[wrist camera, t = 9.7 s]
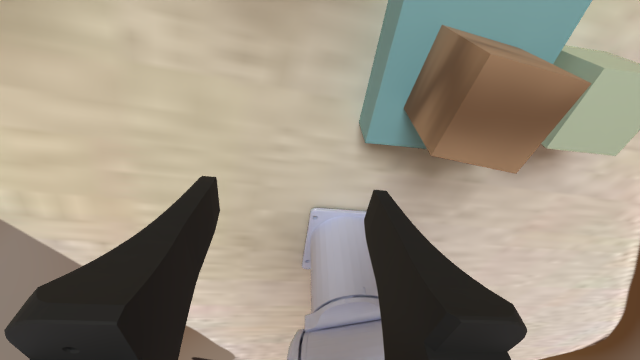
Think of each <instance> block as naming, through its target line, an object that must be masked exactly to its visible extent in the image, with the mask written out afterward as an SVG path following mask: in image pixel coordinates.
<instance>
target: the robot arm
mask: <svg viewBox="0 0 640 360" xmlns="http://www.w3.org/2000/svg"><path fill="white" fill-rule="evenodd" d="M219 212H220V207H219V198H218V189H217V179H216V177H208V176H202V177H200V178H199V179H198V180H197V181H196V182H195V183H194V184H193V185H192V186H191V187H190V188H189V189H188V190H187V191H186V192H185V193H184V194H183V195H182V196H181V197H180V198H179V199H178V200H177V201H176V202H175V203H174V204H173V205H172V206H171V207H170V208H168V209H167V210H166V211H165V212H164V213H163V214H161V215H160V216H159V217H158V218H157V219H156V220H154V221H153V222H152V223H151V224H149V225H148V226H147V227H145V228H144V229H143V230H141V231H140V232H139V233H137V234H136V235H134V236H133V237H132V238H130V239H129V240H127V241H125V242H124V243H122V244H121V245H119V246H117V247H116V248H114V249H113V250H111V251H109V252H108V253H106V254H104V255H103V256H101V257H99V258H97V259H95V260H94V261H92V262H90V263H88V264H86V265H84V266H82V267H80V268H78V269H76V270H74V271H73V272H70V273H68V274H66V275H64V276H62V277H60V278H57V279H55V280H53V281H51V282H49V283H47V284H44V285H42V286H40V287H38V288H37V289H36V290H35V291H34V293H33V294H32V295H31V296H30V297H29V299H28V300H27V301H26V302H25V304H24V305H23V306H22V308H21V309H20V310H19V312H18V313H17V314H16V316H15V317H14V318H13V320H12V321H11V322H10V324H9V325H8V326H7V328H6V329H5V336H6V338H7V339H8V341H9V342H10V343H11V344H13V345H14V346H15V347H16V348H17V349H19V350H20V351H21V352H22V353H23V354H25V355H26V356H27V357H28V358H30V360H178V357H179V352H180V347H181V343H182V339H183V334H184V330H185V325H186V321H187V317H188V313H189V309H190V304H191V301H192V297H193V293H194V289H195V285H196V282H197V279H198V275H199V272H200V270H201V267H202V264H203V262H204V259H205V256H206V254H207V251H208V248H209V246H210V243H211V240H212V238H213V235H214V232H215V229H216V225H217V221H218V216H219ZM314 216H316V217H314ZM302 268H304V269H311V314H308V315H305V329H300V330H298V331H297V332H296V334H295V335H294V338H293V340H292V341H291V343H290V346H289V350H288V356H287V360H511V358H510V356H509V354H508V351H509V350H510V349H511V348H513V347H514V346H515V345H517V344H518V343H519V342H520V341H521V340H522V339H523V338H524V337H525V335H526V333H527V328H526V326H525V324H524V323H523V321H522V319H521V317H520V316H519V314H518V312H517V310H516V309H515V307H514V305H513V304H512V303H510V302H508V301H507V300H505V299H503V298H502V297H500V296H499V295H497V294H495V293H494V292H492V291H490V290H489V289H487V288H486V287H484V286H483V285H481V284H480V283H479V282H477V281H476V280H474V279H473V278H471V277H470V276H469V275H467V274H466V273H465V272H463V271H462V270H461V269H460V268H458V267H457V266H456V265H455V264H453V263H452V262H451V261H450V260H449V259H447V258H446V257H445V256H444V255H443V254H442V253H441V252H440V251H438V250H437V249H436V248H435V247H434V246H433V245H432V244H431V243H430V242H429V241H428V240H427V239H426V238H425V237H424V236H423V235H422V234H421V232H420V231H419V230H418V229H417V228H416V227H415V226H414V225H413V224H412V222H411V221H410V220H409V219H408V218H407V216H406V215H405V214H404V213H403V211H402V210H401V209H400V208H399V206H398V205H397V204H396V203H395V201H394V200H393V199H392V197H391V196H390V195H389V194H388V192H387V191H382V190H374V191H373V194H372V197H371V200H370V203H369V206H368V209H367V211H353V210H340V209H326V208H313V209H311V212H310V218H309V224H308V230H307V236H306V242H305V249H304V255H303V261H302Z"/></svg>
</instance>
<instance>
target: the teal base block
mask: <svg viewBox="0 0 640 360" xmlns="http://www.w3.org/2000/svg"><path fill="white" fill-rule="evenodd" d="M591 2H592V0H388V4H387V9H386V13H385V17H384V21H383V25H382V29H381V33H380V38H379V42H378V46H377V50H376V54H375V58H374V62H373V67H372V71H371V75H370V79H369V83H368V87H367V91H366V95H365V100H364V104H363V108H362V112H361V116H360V120H359V124H360V127H361V130H362V134H363V137H364V140H365V143H372V144H383V145H393V146H403V147H413V148H423V149H427V148H426V146H425V144H424V143H423V141H422V139H421V137H420V136H419V134H418V132H417V131H416V129H415V127H414V125H413V124H412V122H411V120H410V118H409V117H408V115H407V113H406V112H405V110H404V106H405V104H406V101H407V99H408V97H409V95H410V93H411V91H412V88H413V86H414V84H415V82H416V80H417V78H418V75H419V73H420V71H421V69H422V67H423V65H424V62H425V60H426V58H427V56H428V54H429V52H430V49H431V47H432V45H433V43H434V41H435V39H436V36H437V34H438V32H439V30H440V28H441V26H442V25H445V26H448V27H451V28H455V29H458V30H461V31H465V32H468V33H471V34H474V35H478V36H481V37H484V38H488V39H491V40H494V41H498V42H501V43H504V44H508V45H511V46H514V47H517V48H520V49H522V50H524V51H526V52H529V53H531V54H533V55H535V56H537V57H539V58H541V59H543V60H545V61H547V62H549V63H551V64H553V63H554V62H555V60H556V58H557V57H558V55H559V54H560V52H561V50H562V49H563V47H564V45H565V44H566V42H567V41H568V39H569V37H570V36H571V34H572V32H573V31H574V29H575V28H576V26H577V24H578V23H579V21H580V19H581V18H582V16H583V15H584V13H585V11H586V10H587V8H588V6H589V5H590V3H591Z"/></svg>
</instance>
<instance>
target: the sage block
mask: <svg viewBox="0 0 640 360" xmlns="http://www.w3.org/2000/svg"><path fill="white" fill-rule="evenodd" d="M553 65H555V66H557V67H559V68H561V69H563V70H565V71H567V72H569V73H571V74H574V75H576V76H578V77H580V78H582V79H584V80H586V81H588V82H590V83H592V84H591V85H590V86H589V87H588V88H587V90H586V91H585V92H584V93H583V94H582V96H581V97H580V98H579V99H578V100H577V102H576V103H575V104H574V105H573V106H572V108H571V109H570V110H569V111H568V112H567V113H566V115H565V116H564V117H563V118H562V119H561V121H560V122H559V123H558V124H557V125H556V127H555V128H554V129H553V130H552V131H551V133H550V134H549V135H548V136H547V137H546V138H545V140H544V141H543V142H542V143H541V144H542V145H543V146H544V147H545V148H547V149H556V150H565V151H574V152H584V153H593V154H602V155H611V156H616V155H617V154H618V153H619V152H620V151H621V150H622V149H623V148H624V147H625V146H626V144H627V143H628V142H629V141H630V140H631V139H632V138H633V137H634V136H635V135H636V134H637V132H638V131H639V130H640V64H639V63H636V62H633V61H630V60H628V59H625V58H622V57H619V56H616V55H613V54H611V53H608V52H604V51H597V50H591V49H584V48H578V47H572V46H565V45H564V47H563V49H562V50H561V52H560V54H559V55H558V57H557V58H556V60H555V62H554V63H553Z"/></svg>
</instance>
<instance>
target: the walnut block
mask: <svg viewBox="0 0 640 360" xmlns="http://www.w3.org/2000/svg"><path fill="white" fill-rule="evenodd" d="M591 84H592V83H590V82H588V81H586V80H584V79H582V78H580V77H578V76H576V75H574V74H571V73H569V72H567V71H565V70H563V69H561V68H559V67H557V66H555V65H553V64H551V63H549V62H547V61H545V60H543V59H541V58H539V57H537V56H535V55H533V54H531V53H529V52H526V51H524V50H522V49H520V48H517V47H514V46H511V45H508V44H504V43H501V42H498V41H494V40H491V39H488V38H484V37H481V36H478V35H474V34H471V33H468V32H465V31H461V30H458V29H455V28H451V27H448V26H445V25H442V26H441V28H440V30H439V32H438V34H437V36H436V39H435V41H434V43H433V45H432V47H431V49H430V52H429V54H428V56H427V58H426V60H425V62H424V65H423V67H422V69H421V71H420V73H419V75H418V78H417V80H416V82H415V84H414V86H413V88H412V91H411V93H410V95H409V97H408V99H407V101H406V104H405V106H404V110H405V112H406V113H407V115H408V117H409V118H410V120H411V122H412V124H413V125H414V127H415V129H416V131H417V132H418V134H419V136H420V137H421V139H422V141H423V143H424V144H425V146H426V148H427V149H428V151H429V153H430V155H431V156H435V157H440V158H444V159H449V160H454V161H459V162H463V163H468V164H473V165H477V166H482V167H487V168H492V169H496V170H501V171H506V172H511V173H515V174H516V173H517V172H518V171H519V169H520V168H521V167H522V166H523V165H524V163H525V162H526V161H527V160H528V159H529V158H530V156H531V155H532V154H533V153H534V152H535V150H536V149H537V148H538V147H539V146H540V144H541V143H542V142H543V141H544V140H545V138H546V137H547V136H548V135H549V134H550V133H551V131H552V130H553V129H554V128H555V127H556V125H557V124H558V123H559V122H560V121H561V119H562V118H563V117H564V116H565V115H566V113H567V112H568V111H569V110H570V109H571V108H572V106H573V105H574V104H575V103H576V102H577V100H578V99H579V98H580V97H581V96H582V94H583V93H584V92H585V91H586V90H587V88H588V87H589V86H590V85H591Z"/></svg>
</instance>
